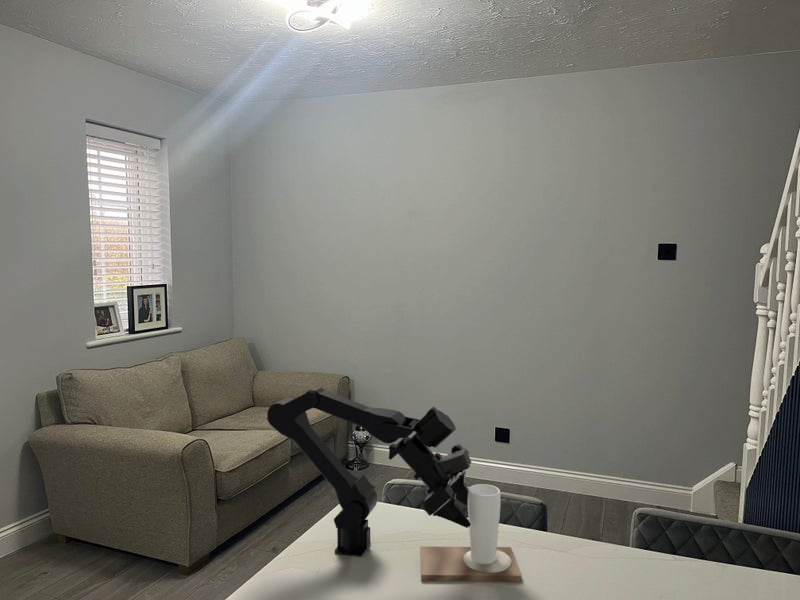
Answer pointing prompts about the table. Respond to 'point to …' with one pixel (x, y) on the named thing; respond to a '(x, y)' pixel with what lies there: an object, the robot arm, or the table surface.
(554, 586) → the table surface
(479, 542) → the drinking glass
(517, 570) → the walnut board
